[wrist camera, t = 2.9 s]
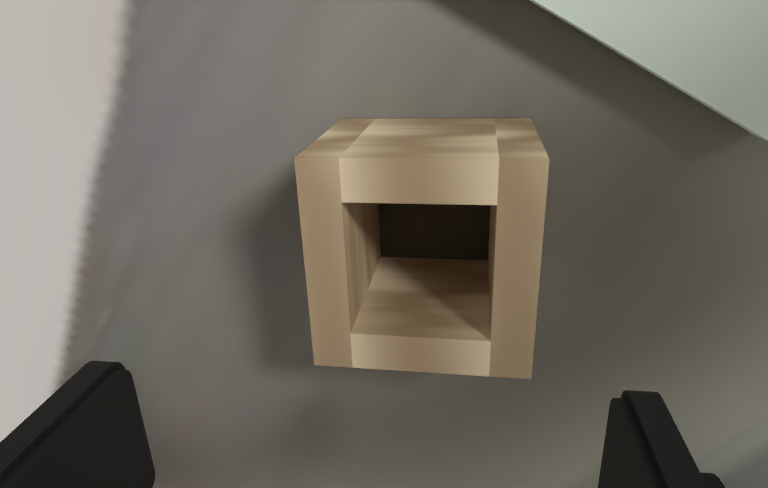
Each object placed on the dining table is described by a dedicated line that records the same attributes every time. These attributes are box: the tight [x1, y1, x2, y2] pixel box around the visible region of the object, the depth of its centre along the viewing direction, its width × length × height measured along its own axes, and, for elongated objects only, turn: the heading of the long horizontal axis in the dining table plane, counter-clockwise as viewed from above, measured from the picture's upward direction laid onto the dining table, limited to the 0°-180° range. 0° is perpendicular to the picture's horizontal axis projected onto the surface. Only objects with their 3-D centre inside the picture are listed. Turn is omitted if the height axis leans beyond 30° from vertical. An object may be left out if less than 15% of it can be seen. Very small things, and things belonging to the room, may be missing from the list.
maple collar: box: [294, 118, 550, 379], centre depth 19 cm, size 7×7×6 cm
